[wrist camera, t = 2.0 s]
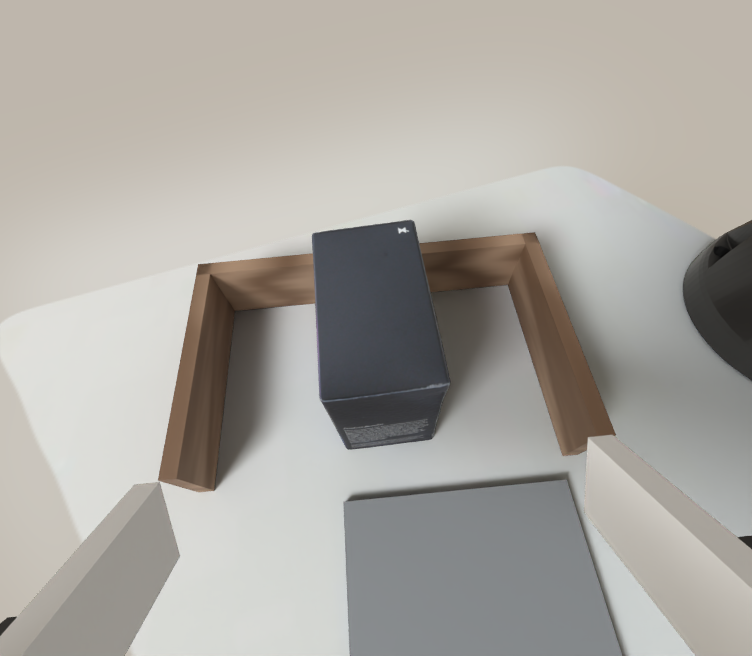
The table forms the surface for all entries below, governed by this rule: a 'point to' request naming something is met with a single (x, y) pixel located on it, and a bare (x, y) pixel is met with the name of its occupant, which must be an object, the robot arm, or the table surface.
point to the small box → (377, 335)
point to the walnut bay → (296, 287)
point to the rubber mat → (474, 575)
